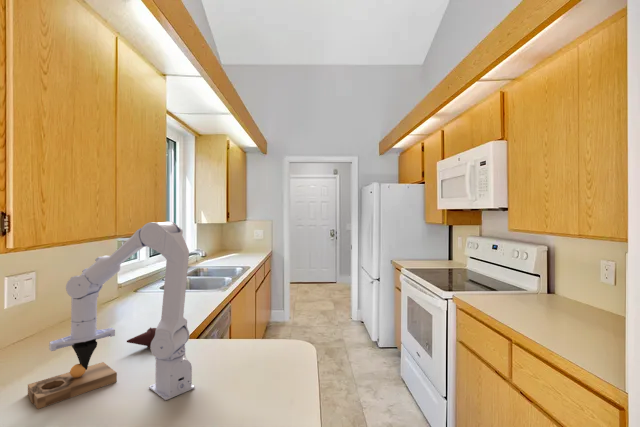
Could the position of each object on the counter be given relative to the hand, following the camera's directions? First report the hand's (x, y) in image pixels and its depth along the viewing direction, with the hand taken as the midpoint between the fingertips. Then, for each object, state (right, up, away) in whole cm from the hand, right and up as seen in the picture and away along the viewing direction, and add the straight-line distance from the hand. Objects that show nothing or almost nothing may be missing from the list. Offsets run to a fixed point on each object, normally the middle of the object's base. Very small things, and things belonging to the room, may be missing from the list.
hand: (83, 369), depth 92 cm
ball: (-1, 0, -1) cm, 1 cm away
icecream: (+6, -4, +25) cm, 26 cm away
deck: (-1, -4, -2) cm, 5 cm away
